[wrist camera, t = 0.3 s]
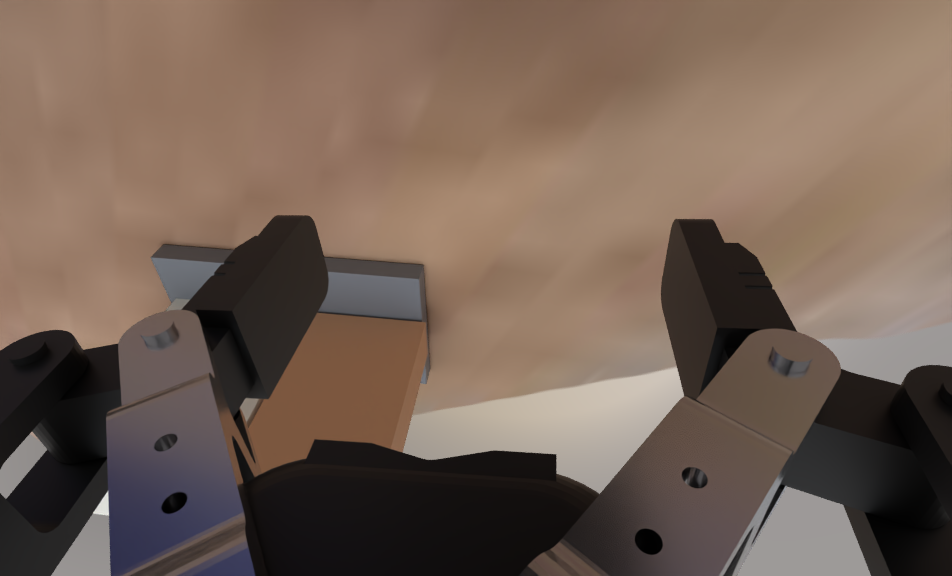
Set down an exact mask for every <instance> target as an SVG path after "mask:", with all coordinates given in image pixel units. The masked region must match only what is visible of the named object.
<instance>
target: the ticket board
mask: <svg viewBox="0 0 952 576" xmlns="http://www.w3.org/2000/svg"><path fill="white" fill-rule="evenodd" d="M233 251H234V250H226V249H214V248H201V247H188V246H176V245H162V246H161V247H160V248H159V249H158V250H157V251H156V252H155V253H154V255H153V256H152V257H151V259H152V261H153V264H154V266H155V268H156V270H157V272H158V275H159V277H160V279H161V281H162V283H163V286H164V288H165V290H166V292H167V294H168V296H169V299H170V301H171V303H172V304H171V305H170V306H169V307H168V308H167V309H166V311H169V310H181V309H182V308H183V307H184V306H185V305H186V304H187V303H188V301H189V300H190V299H191V298H192V297H193V296H194V295H195V294H196V292H197V291H198V290H199V289H200V288H201V287H202V286H203V285H204V283H205V282H206V281H207V280H208V279H209V278H210V277H211V276H214V272H215V271H216V270H217V269H218V268H219V266H220V265H221V264H224V261H225V260H226V258H227V257H228V256H229V255H230V254H231V253H232V252H233ZM324 259H325V263H326V267H327V271H328V277H329V285H328V292H327V295H326V298H325V300H324V301H323V303H322V305H321V307H320V309H319V310H318V312H317V313H325V314H337V315H348V316H359V317H371V318H382V319H393V320H405V321H416V322H426V334H427V349H428V355H427V359H426V362H425V366H424V370H423V374H422V378H421V382H420V383H423V384H427V380H428V376H429V372H430V359H429V344H428V328H427V312H426V297H425V281H424V265H416V264H404V263H391V262H378V261H366V260H353V259H340V258H328V257H324ZM263 400H264V399H253V398H245V400H244V402H243V403H242V405H241V406H240V408H241V410H242V412H243V414H244V417H245V420H246V423H247V426H248V428H249V426H250V425H251V423H252V421H253V419H254V417H255V415H256V413H257V411H258V409H259V408H260V406H261V404H262V402H263ZM93 514H101V515H109V501H108V492H107V493H106V495H105V496H104V498H103V499H102V501H101V502H100V504H99V505H98V506H97V508H96V509H95V511H94V512H93Z"/></svg>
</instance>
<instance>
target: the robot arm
mask: <svg viewBox="0 0 952 576" xmlns="http://www.w3.org/2000/svg"><path fill="white" fill-rule="evenodd" d="M328 285H329V277H328V271H327V267H326V263H325V259H324V255H323V252H322V248H321V244H320V240H319V237H318V233H317V229H316V226H315V223H314V221H313V219H312V218H311V217H310V216H299V215H277V216H275V217H274V218H273V219H272V220H271V221H270V222H269V223H268V225H267V226H266V227H265V228H264V229H263V230H262V232H261V233H260V234H259V235H258V236H254V237H253V238H251V239H249V240H248V241H246V242H245V243H243V244H241V245H240V246H238V247H237V248H235V249H234V251H233V252H232V253H231V254H230V255H229V256H228V257H227V258H226V260H225V261H224V264H221V265H220V266H219V268H218V269H217V270H216V271H215V272H214V276H211V277H210V278H209V279H208V280H207V281H206V282H205V283H204V285H203V286H202V287H201V288H200V289H199V290H198V291H197V292H196V294H195V295H194V296H193V297H192V298H191V299H190V300H189V301H188V303H187V304H186V305H185V306H184V307H183V308H182V309H181V310H169V311H164V312H160V313H157V314H154V315H151V316H149V317H147V318H145V319H143V320H141V321H139V322H137V323H136V324H135V325H133V326H132V327H131V328H129V329H128V330H127V331H126V332H125V333H124V334H123V336H122V337H121V339H120V341H119V343H118V344H114V345H108V346H103V347H97V348H92V349H86V350H83V349H82V348H81V346H80V345H79V343H78V342H77V340H76V339H75V337H74V336H73V335H72V334H71V333H70V332H67V331H63V330H50V331H44V332H40V333H36V334H33V335H30V336H27V337H25V338H22V339H20V340H18V341H16V342H14V343H12V344H10V345H9V346H7V347H5V348H4V349H2V350H1V351H0V469H1V467H2V465H3V463H4V462H5V461H6V460H7V459H8V458H9V456H10V455H11V454H12V453H13V452H14V451H15V450H16V448H17V447H18V446H19V445H20V444H21V443H22V442H23V441H24V440H25V438H26V437H27V436H28V435H29V434H30V433H31V432H32V431H33V433H34V434H35V435H36V436H37V437H38V439H39V440H40V441H41V442H42V443H43V445H44V446H45V447H46V448H47V451H46V452H45V453H44V454H43V456H42V457H41V458H40V459H39V460H38V462H37V463H36V464H35V465H34V466H33V468H32V469H31V470H30V471H29V472H28V474H27V475H26V476H25V477H24V478H23V480H22V481H21V482H20V483H19V484H18V486H17V487H16V488H15V489H14V491H13V492H12V493H11V494H10V495H9V496H8V498H7V499H5V498H4V497H3V496H2V495H1V494H0V576H51V575H52V573H53V572H54V570H55V568H56V567H57V565H58V564H59V563H60V561H61V560H62V558H63V557H64V555H65V554H66V552H67V551H68V549H69V548H70V546H71V545H72V543H73V542H74V541H75V539H76V538H77V536H78V535H79V533H80V532H81V530H82V528H83V527H84V526H85V524H86V523H87V521H88V520H89V518H90V516H91V515H92V514H93V512H94V511H95V509H96V508H97V506H98V505H99V504H100V502H101V501H102V499H103V498H104V496H105V495H106V493H107V492H108V501H109V535H110V567H111V576H737V575H738V573H739V571H740V569H741V567H742V565H743V563H744V562H745V560H746V558H747V556H748V554H749V552H750V551H751V549H752V547H753V545H754V544H755V542H756V540H757V538H758V537H759V535H760V533H761V531H762V529H763V528H764V526H765V524H766V523H767V521H768V519H769V517H770V515H771V514H772V512H773V510H774V508H775V507H776V505H777V503H778V501H779V500H780V498H781V496H782V494H783V492H784V491H785V489H786V487H787V486H788V487H791V488H794V489H797V490H800V491H804V492H806V493H809V494H813V495H816V496H819V497H821V498H824V499H827V500H831V501H834V502H837V503H840V504H843V505H844V508H845V510H846V513H847V515H848V518H849V520H850V523H851V525H852V528H853V530H854V533H855V536H856V538H857V540H858V543H859V546H860V548H861V551H862V553H863V556H864V558H865V561H866V563H867V566H868V569H869V571H870V574H871V576H952V367H947V366H940V365H927V366H921V367H917V368H915V369H913V370H911V371H910V372H909V373H908V374H907V375H906V377H905V379H904V381H903V382H902V384H901V385H898V384H895V383H891V382H887V381H883V380H879V379H874V378H871V377H866V376H862V375H858V374H855V373H851V372H848V371H846V370H843V369H841V367H840V363H839V361H838V359H837V357H836V356H835V355H834V353H833V352H832V351H831V350H830V349H829V348H827V347H826V346H825V345H823V344H822V343H821V342H819V341H817V340H815V339H814V338H812V337H809V336H807V335H805V334H802V333H799V332H797V331H796V329H795V327H794V325H793V323H792V321H791V320H790V318H789V316H788V314H787V312H786V310H785V309H784V307H783V305H782V303H781V301H780V299H779V297H778V296H777V294H776V292H775V290H774V289H772V284H771V283H770V281H769V279H768V277H767V276H765V271H764V270H763V268H762V266H761V264H760V262H759V260H758V259H757V257H756V256H755V255H753V254H752V253H751V252H750V251H748V250H747V249H746V248H744V247H743V246H742V245H740V244H739V243H724V241H723V239H722V236H721V234H720V232H719V230H718V228H717V226H716V224H715V222H714V220H712V219H675V220H674V222H673V224H672V228H671V233H670V238H669V244H668V249H667V255H666V261H665V266H664V272H663V277H662V285H661V302H662V309H663V313H664V317H665V321H666V325H667V329H668V333H669V337H670V341H671V345H672V349H673V352H674V356H675V360H676V364H677V368H678V372H679V376H680V380H681V384H682V388H683V392H684V397H683V398H682V399H680V400H679V402H678V403H677V404H676V405H675V406H674V407H673V408H672V410H671V411H670V412H669V413H668V414H667V415H666V417H665V418H664V419H663V420H662V421H661V423H660V424H659V425H658V426H657V427H656V429H655V430H654V431H653V432H652V433H651V434H650V436H649V437H648V438H647V439H646V440H645V442H644V443H643V444H642V445H641V446H640V447H639V448H638V450H637V451H636V452H635V453H634V454H633V456H632V457H631V458H630V459H629V460H628V461H627V463H626V464H625V465H624V466H623V467H622V469H621V470H620V471H619V472H618V473H617V475H616V476H615V477H614V478H613V479H612V480H611V482H610V483H609V484H608V485H607V486H606V487H605V489H604V490H603V491H602V492H601V493H600V494H599V493H597V492H596V491H594V490H592V489H591V488H589V487H587V486H586V485H584V484H582V483H579V482H577V481H575V480H573V479H570V478H568V477H565V476H562V475H559V474H556V454H541V453H525V452H509V451H488V452H482V453H475V454H470V455H463V456H457V457H450V458H444V459H438V460H425V459H421V458H418V457H415V456H412V455H408V454H405V453H402V452H399V451H396V450H393V449H389V448H386V447H383V446H380V445H377V444H374V443H366V442H350V441H335V440H319V439H314V442H313V444H312V446H311V449H310V451H309V453H308V456H307V458H306V459H301V460H297V461H293V462H289V463H286V464H283V465H280V466H278V467H275V468H272V469H270V470H268V471H266V472H264V473H262V472H261V469H260V465H259V462H258V459H257V456H256V452H255V449H254V446H253V443H252V439H251V436H250V433H249V430H248V426H247V423H246V420H245V417H244V414H243V412H242V410H241V408H240V406H241V405H242V403H243V402H244V400H245V398H253V399H269V398H270V396H271V394H272V393H273V391H274V389H275V387H276V385H277V384H278V382H279V380H280V378H281V377H282V375H283V373H284V371H285V369H286V368H287V366H288V364H289V362H290V360H291V359H292V357H293V355H294V353H295V352H296V350H297V348H298V346H299V344H300V343H301V341H302V339H303V337H304V335H305V334H306V332H307V330H308V328H309V327H310V325H311V323H312V321H313V319H314V318H315V316H316V314H317V312H318V310H319V309H320V307H321V305H322V303H323V301H324V300H325V298H326V295H327V292H328Z"/></svg>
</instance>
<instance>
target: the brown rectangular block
mask: <svg viewBox="0 0 952 576" xmlns="http://www.w3.org/2000/svg"><path fill="white" fill-rule="evenodd" d="M427 355H428V349H427V334H426V322H416V321H405V320H393V319H382V318H371V317H359V316H348V315H337V314H325V313H317V314H316V316H315V318H314V319H313V321H312V323H311V325H310V327H309V328H308V330H307V332H306V334H305V335H304V337H303V339H302V341H301V343H300V344H299V346H298V348H297V350H296V352H295V353H294V355H293V357H292V359H291V360H290V362H289V364H288V366H287V368H286V369H285V371H284V373H283V375H282V377H281V378H280V380H279V382H278V384H277V385H276V387H275V389H274V391H273V393H272V394H271V396H270V398H269V399H264V400H263V402H262V404H261V406H260V408H259V409H258V411H257V413H256V415H255V417H254V419H253V421H252V423H251V425H250V426H249V428H248V430H249V433H250V436H251V439H252V443H253V446H254V449H255V452H256V456H257V459H258V462H259V465H260V469H261V472H262V473H264V472H266V471H268V470H270V469H272V468H275V467H278V466H280V465H283V464H286V463H289V462H293V461H297V460H301V459H306V458H307V456H308V453H309V451H310V449H311V446H312V444H313V442H314V439H319V440H335V441H350V442H366V443H374V444H377V445H380V446H383V447H386V448H389V449H393V450H396V451H399V452H403V448H404V444H405V440H406V437H407V433H408V429H409V425H410V421H411V417H412V413H413V409H414V405H415V402H416V398H417V394H418V390H419V386H420V382H421V378H422V374H423V370H424V366H425V362H426V359H427Z"/></svg>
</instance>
